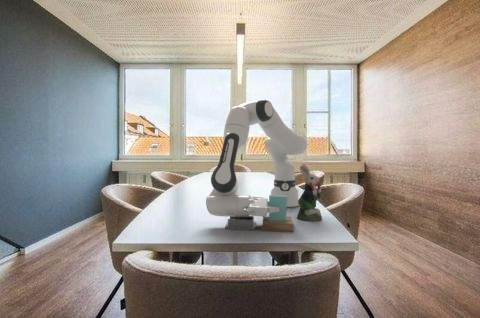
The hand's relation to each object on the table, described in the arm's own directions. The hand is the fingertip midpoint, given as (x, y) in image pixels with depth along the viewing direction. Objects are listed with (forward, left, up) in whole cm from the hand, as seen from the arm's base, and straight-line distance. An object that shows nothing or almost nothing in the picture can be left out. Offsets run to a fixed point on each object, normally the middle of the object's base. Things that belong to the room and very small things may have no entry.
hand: (278, 206), depth 129 cm
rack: (0, -16, -8) cm, 18 cm away
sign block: (0, 0, -5) cm, 5 cm away
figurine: (-17, +14, -9) cm, 24 cm away
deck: (0, 0, -9) cm, 9 cm away
